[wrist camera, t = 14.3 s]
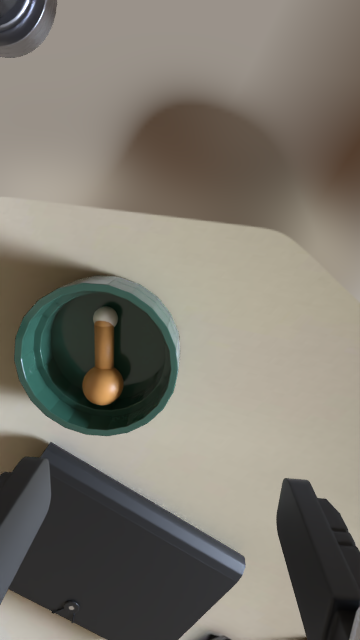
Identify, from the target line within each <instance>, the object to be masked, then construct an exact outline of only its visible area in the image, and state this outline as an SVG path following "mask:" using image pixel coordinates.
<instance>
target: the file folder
mask: <svg viewBox="0 0 360 640" xmlns="http://www.w3.org/2000/svg"><path fill="white" fill-rule="evenodd" d="M40 458H47V459H48V460H49V468H50V484H51V501H50V505H49V509H48V512H47V514H46V516H45V518H44V520H43V522H42V524H41V526H40V528H39V530H38V532H37V534H36V536H35V538H34V540H33V542H32V544H31V546H30V547H29V549H28V551H27V553H26V555H25V557H24V559H23V561H22V563H21V565H20V567H19V569H18V571H17V573H16V575H15V577H14V579H13V581H12V582H11V584H10V586H9V588H8V589H10V590H12V591H14V592H15V593H17V594H19V595H21V596H23V597H25V598H27V599H29V600H31V601H33V602H35V603H37V604H39V605H41V606H43V607H45V608H47V609H49V610H51V611H52V613H56V614H58V615H60V616H62V617H64V618H66V619H68V620H70V621H72V623H73V622H74V623H76V624H78V625H80V626H82V627H84V628H86V629H88V630H89V631H91V632H93V633H95V634H97V635H99V636H101V637H103V638H105V639H107V640H178V639H179V638H180V637H181V636H182V635H183V634H184V633H185V632H187V631H188V630H189V629H190V628H191V627H192V626H193V625H194V624H195V623H196V622H197V621H198V620H199V619H200V618H201V617H202V616H203V615H204V614H205V613H206V612H207V611H208V610H209V609H210V608H211V607H212V606H213V605H214V604H215V603H216V602H217V601H218V600H220V599H221V598H222V597H223V596H224V595H225V594H226V593H227V592H228V591H229V590H230V589H231V588H232V587H233V586H234V585H235V584H236V583H237V582H238V581H239V579H240V578H241V576H242V575H243V572H244V569H245V558H244V556H242V555H241V554H239V553H238V552H236V551H234V550H232V549H231V548H229V547H227V546H226V545H224V544H222V543H221V542H219V541H217V540H216V539H214V538H212V537H211V536H209V535H207V534H205V533H204V532H202V531H200V530H199V529H197V528H195V527H194V526H192V525H190V524H189V523H187V522H185V521H183V520H182V519H180V518H178V517H177V516H175V515H173V514H172V513H170V512H168V511H167V510H165V509H163V508H161V507H160V506H158V505H156V504H155V503H153V502H151V501H150V500H148V499H146V498H145V497H143V496H141V495H139V494H138V493H136V492H134V491H133V490H131V489H129V488H128V487H126V486H124V485H123V484H121V483H119V482H118V481H116V480H114V479H112V478H111V477H109V476H107V475H106V474H104V473H102V472H101V471H99V470H97V469H96V468H94V467H92V466H90V465H89V464H87V463H85V462H84V461H82V460H80V459H79V458H77V457H75V456H74V455H72V454H70V453H69V452H67V451H65V450H63V449H62V448H60V447H58V446H57V445H55V444H53V443H52V442H50V444H49V445H48V447H47V448H46V450H45V451H44V452H43V454H42V455H41V457H40Z"/></svg>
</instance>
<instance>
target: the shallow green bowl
mask: <svg viewBox="0 0 360 640" xmlns="http://www.w3.org/2000/svg"><path fill="white" fill-rule="evenodd" d="M105 306H107V307H110V308H112V309H114V310H115V311H116V313H117V316H118V321H117V324H116V326H115V327H114V368H116V369H117V370H118V371H119V372H120V374H121V375H122V378H123V390H122V393H121V395H120V396H119V397H118V399H117V400H115V401H114V402H112V403H111V404H108V405H96V404H93V403H92V402H90V401H89V400H88V399H87V398H86V397H85V395H84V393H83V388H82V384H83V379H84V377H85V375H86V373H87V372H88V371H89V370H90V369H92V368H93V367H95V333H94V321H93V315H94V313H95V311H96V310H97V309H99V308H100V307H105ZM179 359H180V344H179V333H178V330H177V328H176V325H175V323H174V320H173V318H172V315H171V313H170V312H169V311H168V309H167V308H166V307H165V306H164V304H163V303H162V302H161V301H160V299H159V298H158V297H157V296H156V295H154V294H153V293H151V292H150V291H149V290H147V289H146V288H144V287H143V286H142V285H140V284H138V283H135V282H132V281H130V280H127V279H124V278H121V277H115V276H100V275H97V276H93V277H88V278H84V279H79V280H76V281H74V282H72V283H69V284H67V285H65V286H62V287H60V288H58V289H56V290H54V291H53V292H51V293H49V294H48V295H46V296H44V297H42V298H41V299H39V300H38V301H37V302H36V303H35V304H34V306H33V307H32V308H31V309H30V310H29V311H28V313H27V314H26V315H25V316H24V317H23V320H22V322H21V325H20V327H19V330H18V332H17V335H16V338H15V353H14V361H15V365H16V369H17V373H18V377H19V380H20V382H21V384H22V386H23V388H24V389H25V391H26V393H27V395H28V396H29V398H30V400H31V401H32V402H33V403H34V404H35V405H36V406H37V407H38V408H39V409H40V410H41V411H42V412H43V413H44V414H45V415H46V416H47V417H49V418H50V419H52V420H53V421H55V422H57V423H58V424H60V425H61V426H63V427H65V428H68V429H71V430H74V431H77V432H80V433H83V434H87V435H100V436H111V435H117V434H122V433H128V432H130V431H132V430H135V429H137V428H139V427H141V426H143V425H145V424H147V423H148V422H150V421H151V420H152V419H153V418H154V417H155V416H156V415H157V414H159V413H160V412H161V411H162V410H163V409H164V407H165V405H166V404H167V402H168V400H169V399H170V397H171V395H172V393H173V391H174V388H175V383H176V379H177V374H178V368H179Z"/></svg>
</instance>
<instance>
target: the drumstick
mask: <svg viewBox="0 0 360 640" xmlns="http://www.w3.org/2000/svg"><path fill="white" fill-rule="evenodd" d="M93 321H94V333H95V367H93V368H92V369H90V370H89V371H88V372H87V373H86V375H85V377H84V379H83V384H82V388H83V393H84V395H85V397H86V398H87V399H88V400H89V401H90V402H92V403H93V404H96V405H108V404H111V403H112V402H114V401H115V400H117V399H118V397H119V396H120V395H121V393H122V390H123V378H122V375H121V374H120V372H119V371H118V370H117V369H116V368H114V327H115V326H116V324H117V321H118V316H117V313H116V311H115V310H114V309H112V308H110V307H107V306H105V307H100V308H99V309H97V310H96V311H95V313H94V315H93Z"/></svg>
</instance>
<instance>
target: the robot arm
mask: <svg viewBox="0 0 360 640" xmlns="http://www.w3.org/2000/svg"><path fill="white" fill-rule="evenodd" d="M32 1H33V0H0V32H2V31H6V30H9V29H11V28H13V27H15V26H16V25H17V24H18V23H20V22H21V21H22V19H23V18H24V17H25V16H26V14H27V13H28V11H29V9H30V7H31V4H32ZM50 501H51V484H50V468H49V460H48V459H47V458H36V457H24V458H22V459H21V461H20V462H19V463H18V465H17V466H16V467H15V469H14V470H13V471H12V473H11V472H4V473H2V474H1V475H0V604H1V602H2V600H3V598H4V596H5V594H6V592H7V590H8V588H9V586H10V584H11V582H12V581H13V579H14V577H15V575H16V573H17V571H18V569H19V567H20V565H21V563H22V561H23V559H24V557H25V555H26V553H27V551H28V549H29V547H30V546H31V544H32V542H33V540H34V538H35V536H36V534H37V532H38V530H39V528H40V526H41V524H42V522H43V520H44V518H45V516H46V514H47V512H48V509H49V505H50ZM276 520H277V532H278V536H279V540H280V543H281V547H282V551H283V554H284V558H285V561H286V565H287V568H288V572H289V576H290V579H291V583H292V586H293V590H294V593H295V597H296V601H297V604H298V608H299V611H300V615H301V618H302V622H303V625H304V629H305V633H306V636H307V640H360V552H359V550H358V548H357V547H356V546H355V542H354V540H353V538H352V536H351V534H350V533H349V532H348V528H347V526H346V525H345V523H344V521H343V519H342V517H341V515H340V513H339V512H338V511H337V510H336V509H335V508H334V507H333V506H332V505H331V504H330V503H329V502H328V500H327V499H321V498H317V497H316V494H315V492H314V490H313V488H312V486H311V484H310V482H309V481H308V480H301V479H289V478H285V479H284V480H283V483H282V488H281V494H280V499H279V504H278V510H277V519H276Z"/></svg>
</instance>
